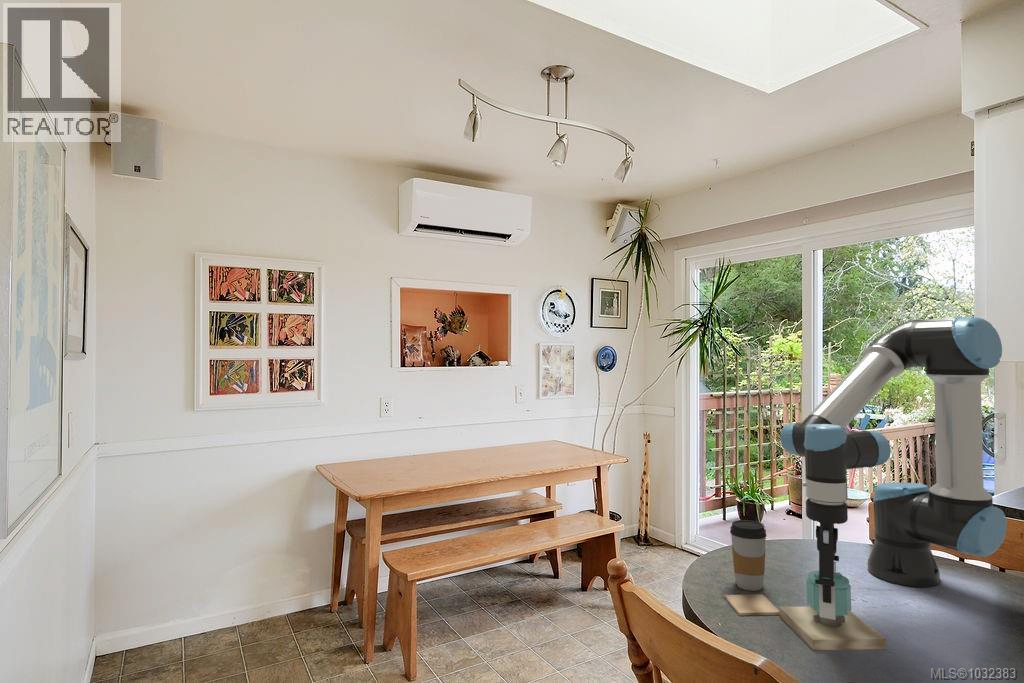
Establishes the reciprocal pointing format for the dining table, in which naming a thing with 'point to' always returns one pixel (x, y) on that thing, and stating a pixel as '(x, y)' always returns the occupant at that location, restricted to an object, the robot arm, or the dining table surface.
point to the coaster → (751, 605)
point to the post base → (831, 630)
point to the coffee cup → (748, 553)
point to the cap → (840, 593)
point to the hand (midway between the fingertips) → (828, 604)
